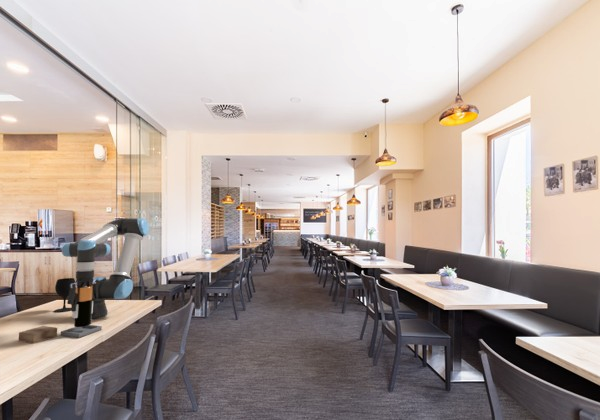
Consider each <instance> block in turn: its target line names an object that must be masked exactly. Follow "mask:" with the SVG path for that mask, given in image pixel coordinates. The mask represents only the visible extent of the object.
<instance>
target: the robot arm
mask: <svg viewBox="0 0 600 420" xmlns="http://www.w3.org/2000/svg"><path fill="white" fill-rule="evenodd" d="M149 231H150V226H149V222H148V221H147V219H146V218H139V217H138V218H137V217H136V218H133V217H132V218H128V217H127V218H126V217H123V218H117V219H114V220H112V221H110V222H107V223H106V224H104V225H103V226H102V228H100V229H98V230H96V231H94V232H92V233H90V234H88V235H87V236H85V237H83V238H80V239H79V240H78V241H75V242H67V243H64V245H62V248H61V254H62V255H63V256H64V257H70V258H73V257H74V258H76V259H77V260H76V271H75V283H73V284H70V285H69V286H70V291H69V296H68V297H67V301H66V302H67V303H66V304H67V305H71V306H70V308H71V311H70V312H71V313H72V314H71V318H72V319H74V318H78V304H77V302H78V300H79V293H78V294H77V293H76V287H79V288H83V287H85V286H93V293H92V320H97V319H101V318H105V317H107V316H108V311H109V310H108V309H107V304H106V303H105V302H106V300H123V299H124V300H125V299H126V298H128V297H129V296H130V295H131V293H132V291H133V289H134V281H133V280H132V277H131V275H130V274H131V270H132V269H133V268H132V267H133V264H134V260H135V257H136V254H137V251H138V247H139V243H140V241H142V240H143V239H144V237H145V236H148V234H149ZM116 236H123V238H124V241H123V243H122V247H121V251H120V252H119V256H118V259H117V261H116V265H115V268H114V271H113V273H111V274H110V275H109V278H108V279H107V277H106V276H97V277H95V263H96V261H95V259H96V258H101V257H102V258H103V257H106V256H108V255H109V254H110V253H111V249H112V248H111V246H110V245H109V244H108V243H105V241H106V240H108V239H110V238H114V237H116Z"/></svg>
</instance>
